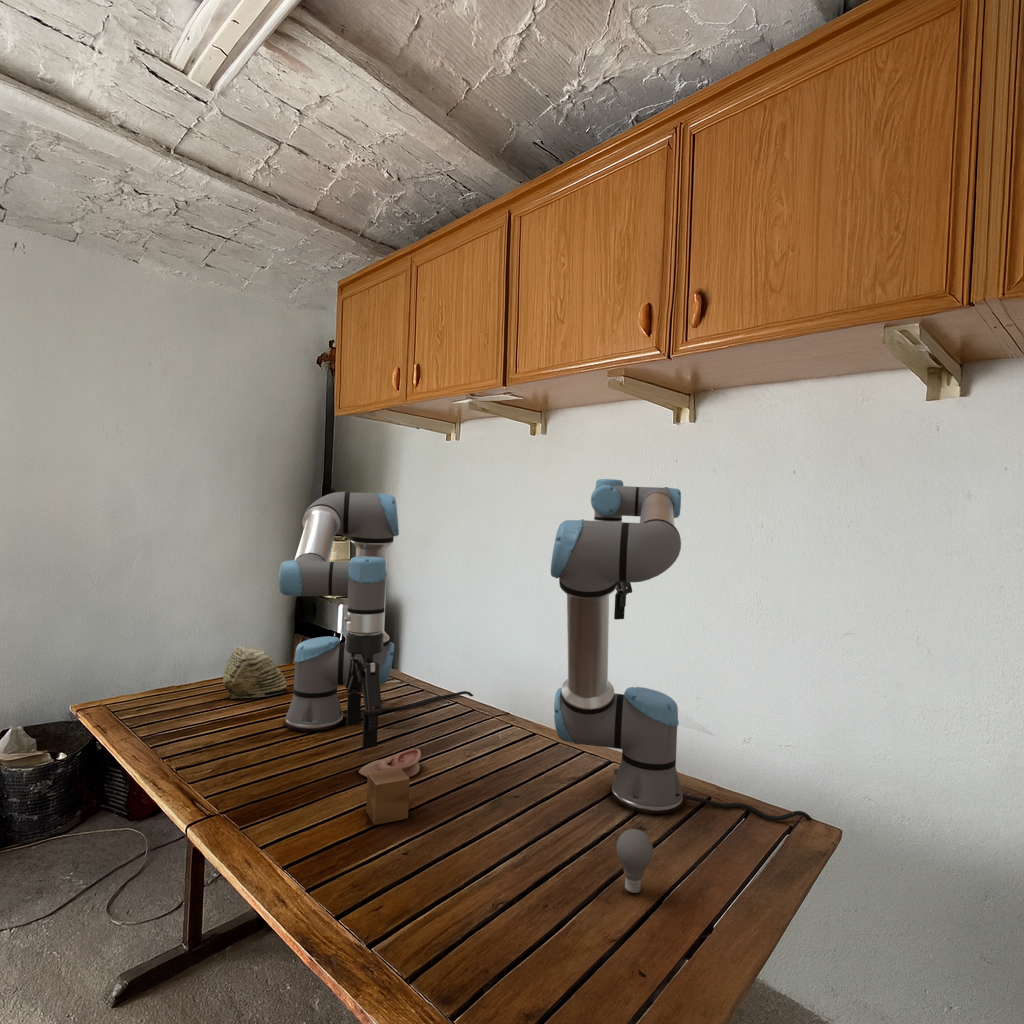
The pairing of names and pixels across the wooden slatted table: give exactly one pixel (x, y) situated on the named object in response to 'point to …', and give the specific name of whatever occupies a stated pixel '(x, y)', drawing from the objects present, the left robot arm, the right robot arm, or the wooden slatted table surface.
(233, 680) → the fossil
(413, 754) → the anatomical model
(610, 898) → the wooden slatted table surface
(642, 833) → the light bulb
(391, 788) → the light brown block
